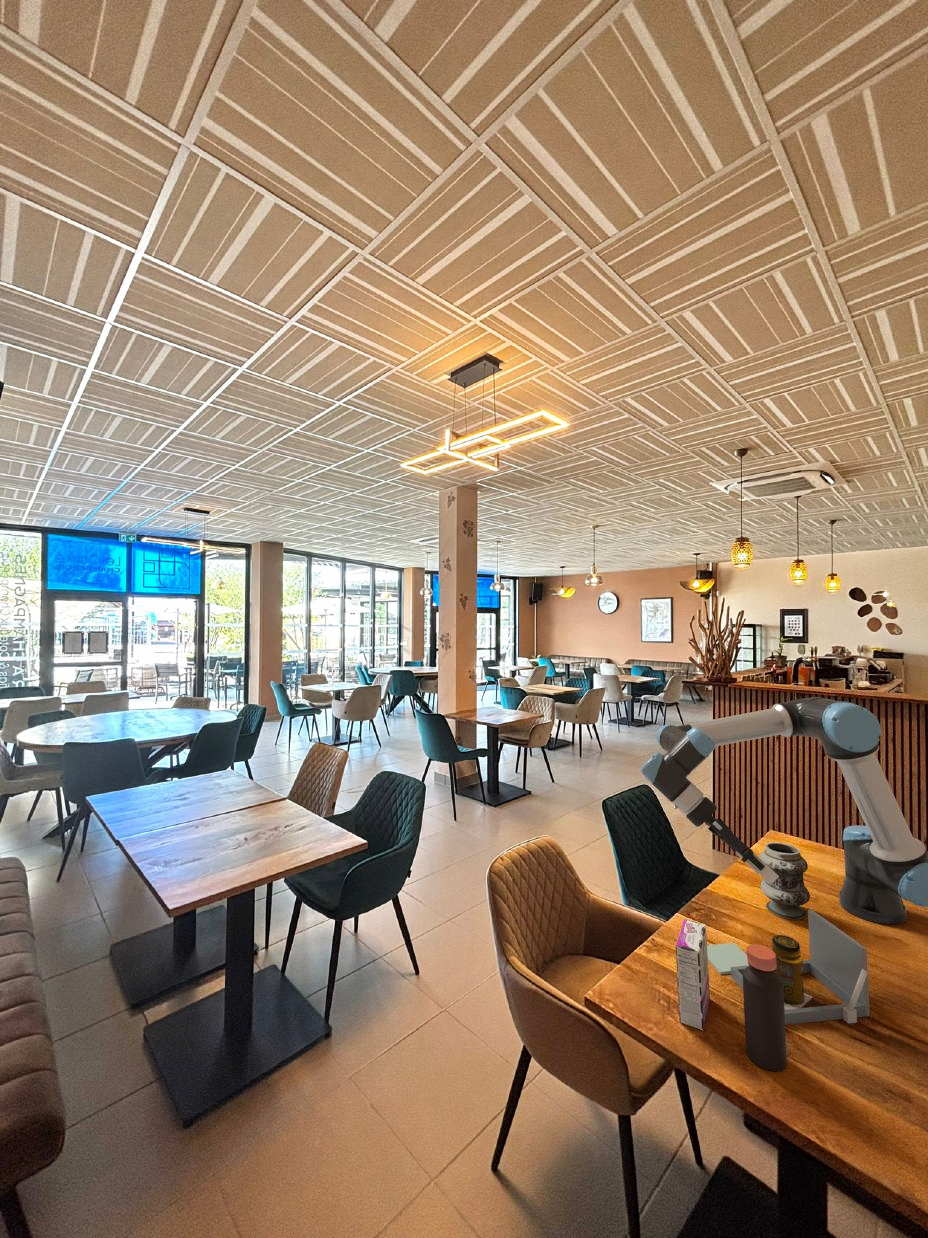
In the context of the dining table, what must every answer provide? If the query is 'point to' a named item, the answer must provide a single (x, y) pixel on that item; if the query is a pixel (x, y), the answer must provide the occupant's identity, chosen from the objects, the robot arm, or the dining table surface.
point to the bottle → (764, 1009)
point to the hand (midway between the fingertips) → (767, 875)
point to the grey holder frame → (831, 974)
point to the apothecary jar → (785, 881)
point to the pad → (726, 957)
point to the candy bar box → (692, 974)
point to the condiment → (790, 971)
